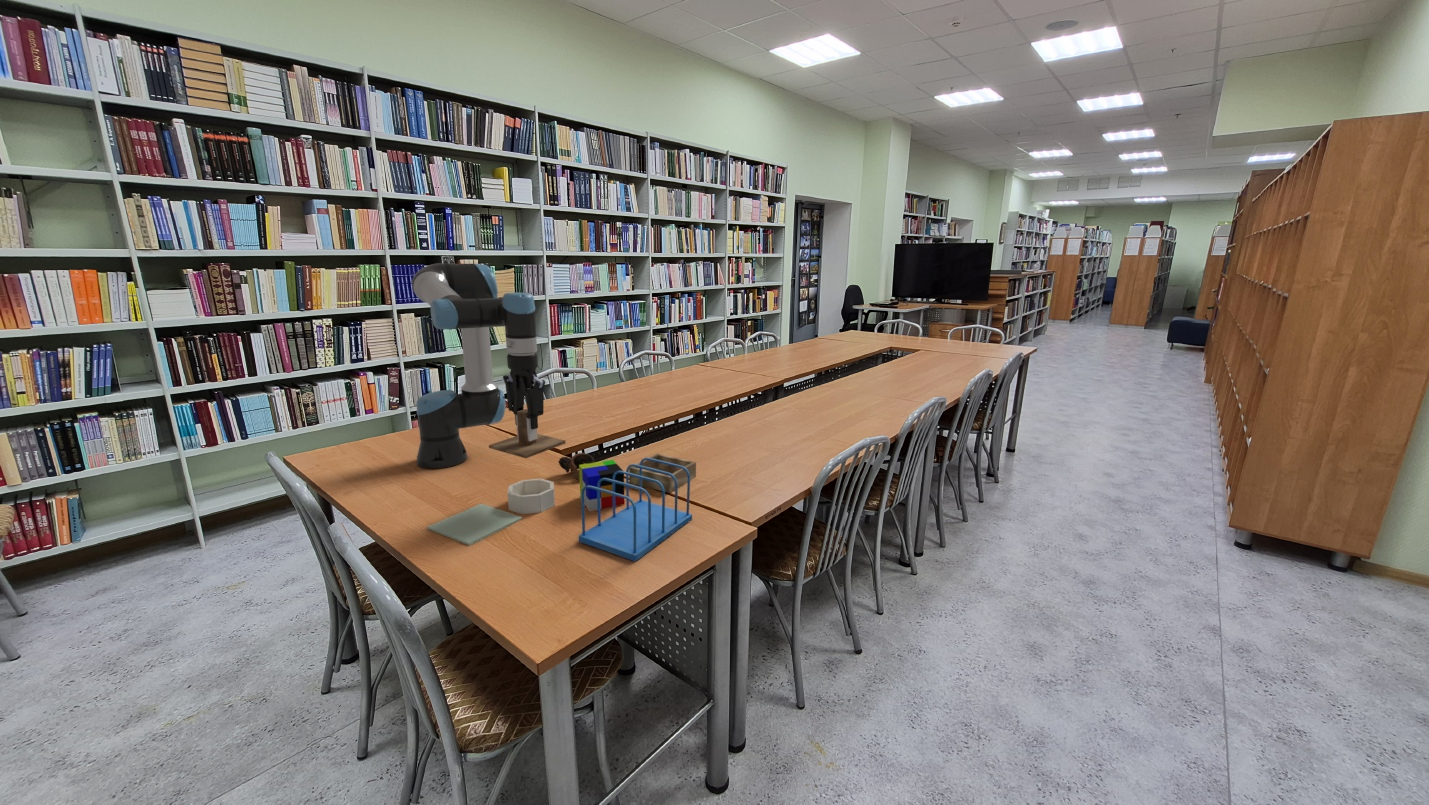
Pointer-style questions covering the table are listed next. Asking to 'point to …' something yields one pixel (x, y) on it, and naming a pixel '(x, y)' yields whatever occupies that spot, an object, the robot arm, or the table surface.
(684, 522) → the file sorter
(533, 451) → the lid
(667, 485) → the tray
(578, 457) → the animal figurine
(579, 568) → the table surface
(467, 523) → the mat
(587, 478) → the puzzle toy
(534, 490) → the bowl
